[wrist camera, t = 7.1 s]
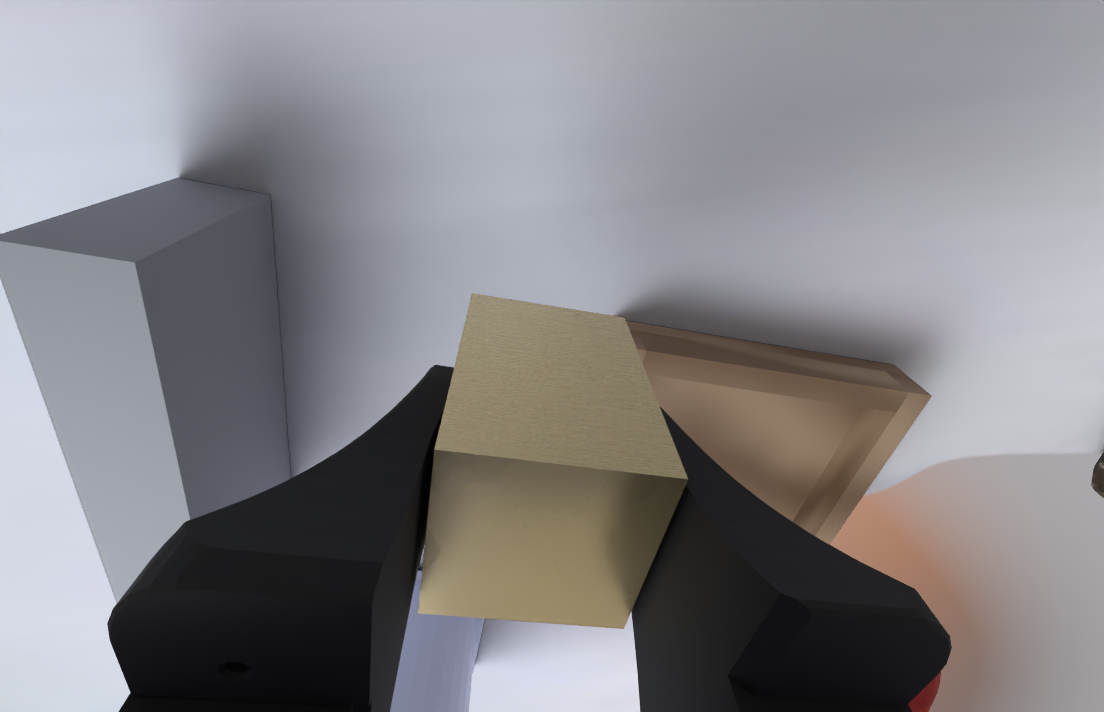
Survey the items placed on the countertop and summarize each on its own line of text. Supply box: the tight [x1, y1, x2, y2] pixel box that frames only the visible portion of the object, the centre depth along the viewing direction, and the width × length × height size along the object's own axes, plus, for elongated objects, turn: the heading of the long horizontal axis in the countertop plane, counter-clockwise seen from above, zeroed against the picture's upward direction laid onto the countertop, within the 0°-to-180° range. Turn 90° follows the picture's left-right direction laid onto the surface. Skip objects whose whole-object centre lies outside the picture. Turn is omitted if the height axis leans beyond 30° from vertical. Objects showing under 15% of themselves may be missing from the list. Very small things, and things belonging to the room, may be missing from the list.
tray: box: [626, 321, 931, 545], centre depth 23 cm, size 13×13×2 cm
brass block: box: [418, 293, 688, 629], centre depth 11 cm, size 4×4×6 cm
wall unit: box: [0, 178, 291, 603], centre depth 18 cm, size 14×3×7 cm, turn 169°
